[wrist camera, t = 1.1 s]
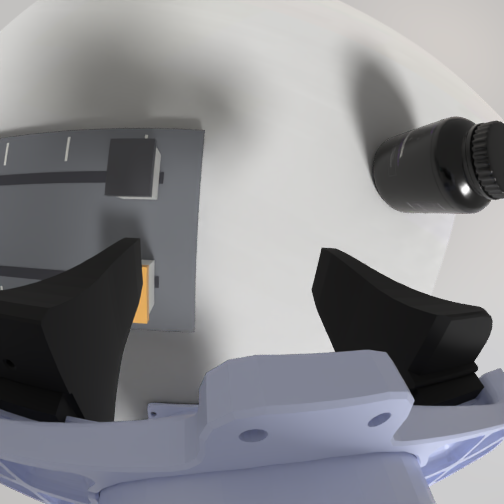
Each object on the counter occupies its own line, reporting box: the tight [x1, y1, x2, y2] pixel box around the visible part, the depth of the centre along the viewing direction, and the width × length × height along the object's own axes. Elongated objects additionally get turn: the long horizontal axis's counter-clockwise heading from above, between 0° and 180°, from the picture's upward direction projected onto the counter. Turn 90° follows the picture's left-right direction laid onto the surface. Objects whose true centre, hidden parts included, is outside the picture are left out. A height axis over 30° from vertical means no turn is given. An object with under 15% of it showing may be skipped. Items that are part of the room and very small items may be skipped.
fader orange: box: [133, 260, 155, 324], centre depth 18 cm, size 3×3×4 cm
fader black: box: [105, 138, 161, 200], centre depth 17 cm, size 3×3×4 cm
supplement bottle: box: [373, 117, 504, 214], centre depth 19 cm, size 7×7×12 cm
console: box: [0, 128, 205, 332], centre depth 19 cm, size 14×20×2 cm
